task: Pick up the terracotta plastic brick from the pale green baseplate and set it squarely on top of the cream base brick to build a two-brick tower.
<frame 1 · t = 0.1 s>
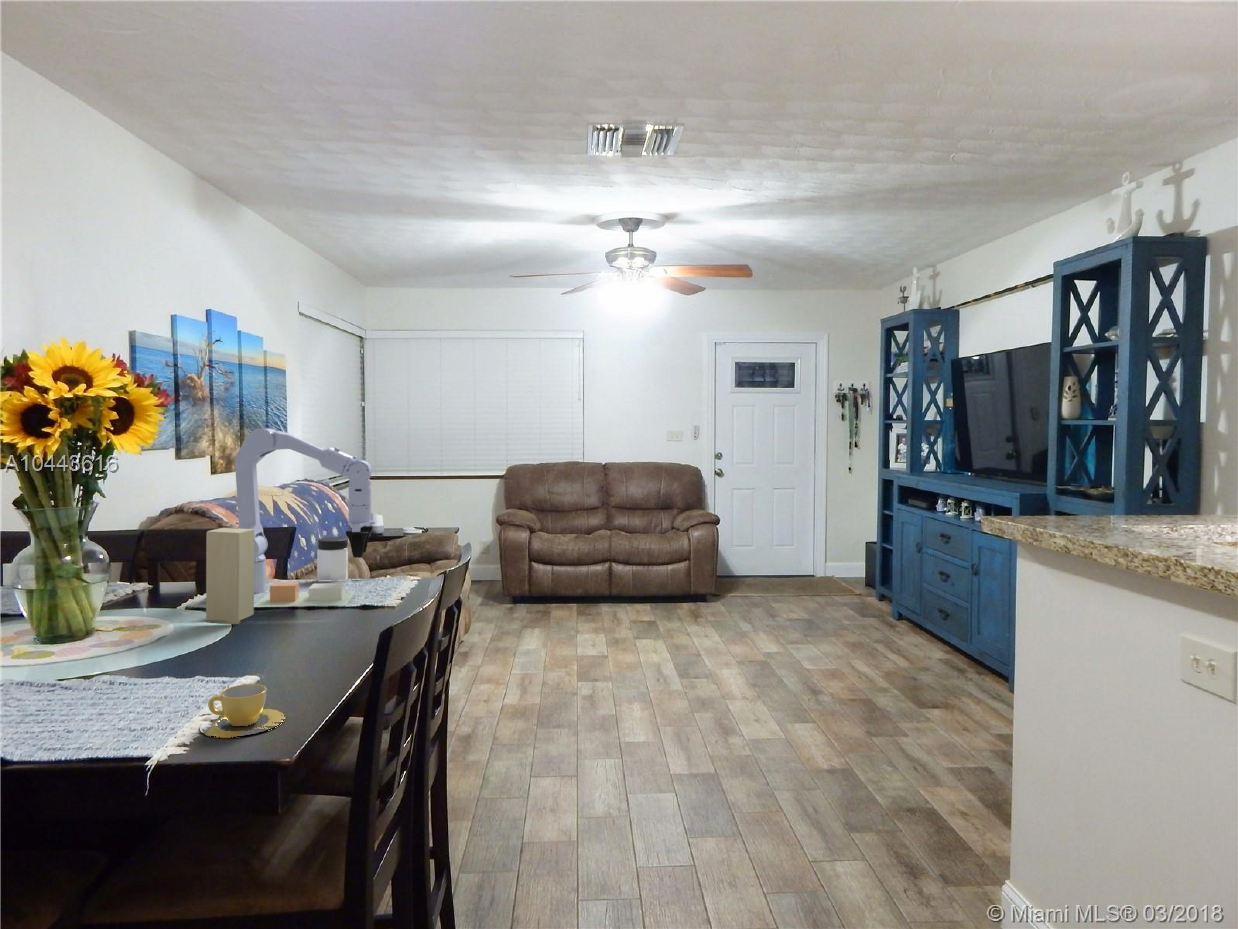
hand: (359, 555, 216), 10 cm above the table, fingers open, 7 cm apart
beige tall rectangular block: (231, 620, 185), on the table
base brick: (327, 597, 206), point 1 cm above the table, touching baseplate
jar: (332, 581, 231), on the table
top brick: (284, 600, 202), point 1 cm above the table, touching baseplate
cup: (243, 726, 124), on the table
baseplate: (306, 601, 204), on the table
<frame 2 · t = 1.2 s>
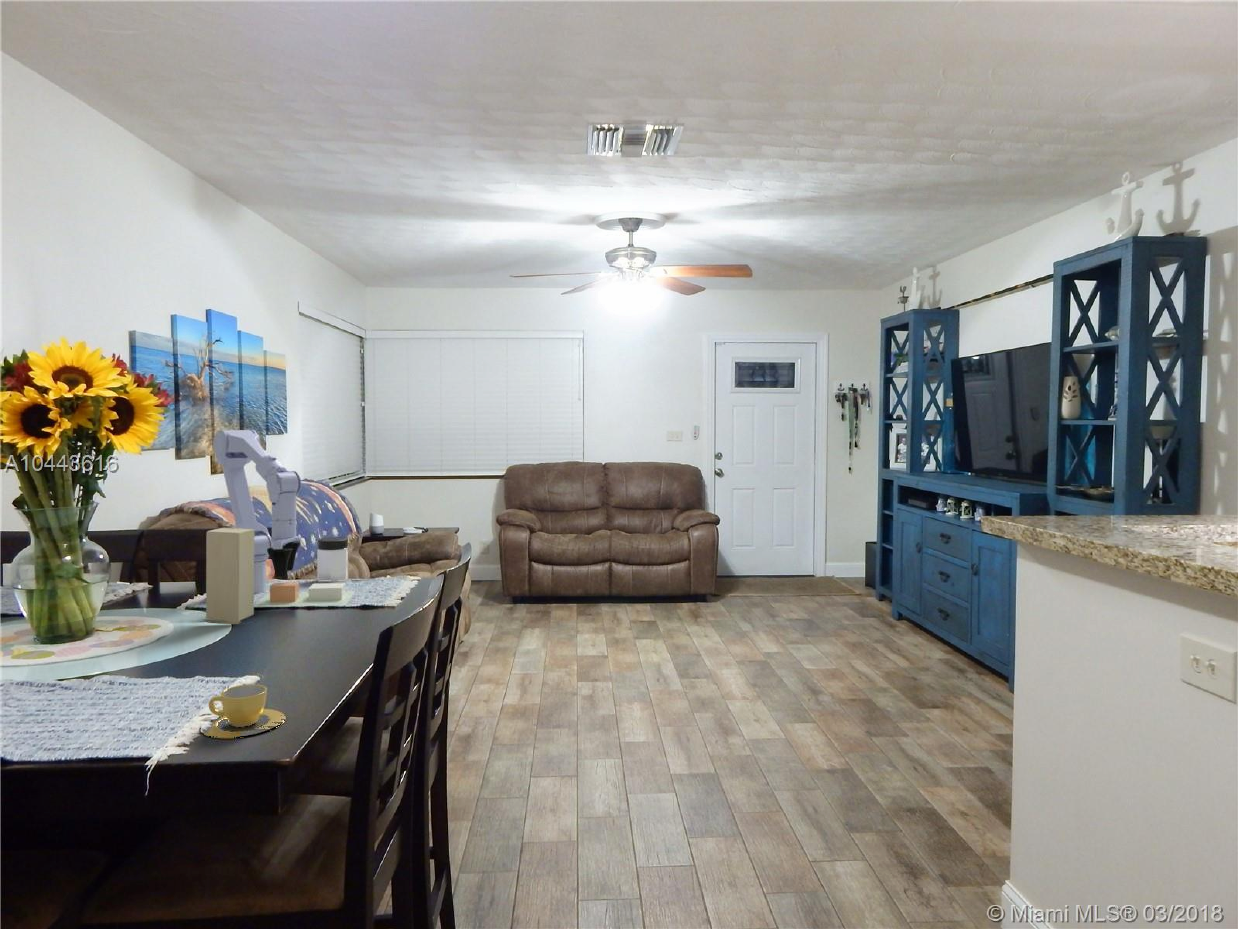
hand: (284, 573, 202), 8 cm above the table, fingers open, 7 cm apart
nothing on the table moved.
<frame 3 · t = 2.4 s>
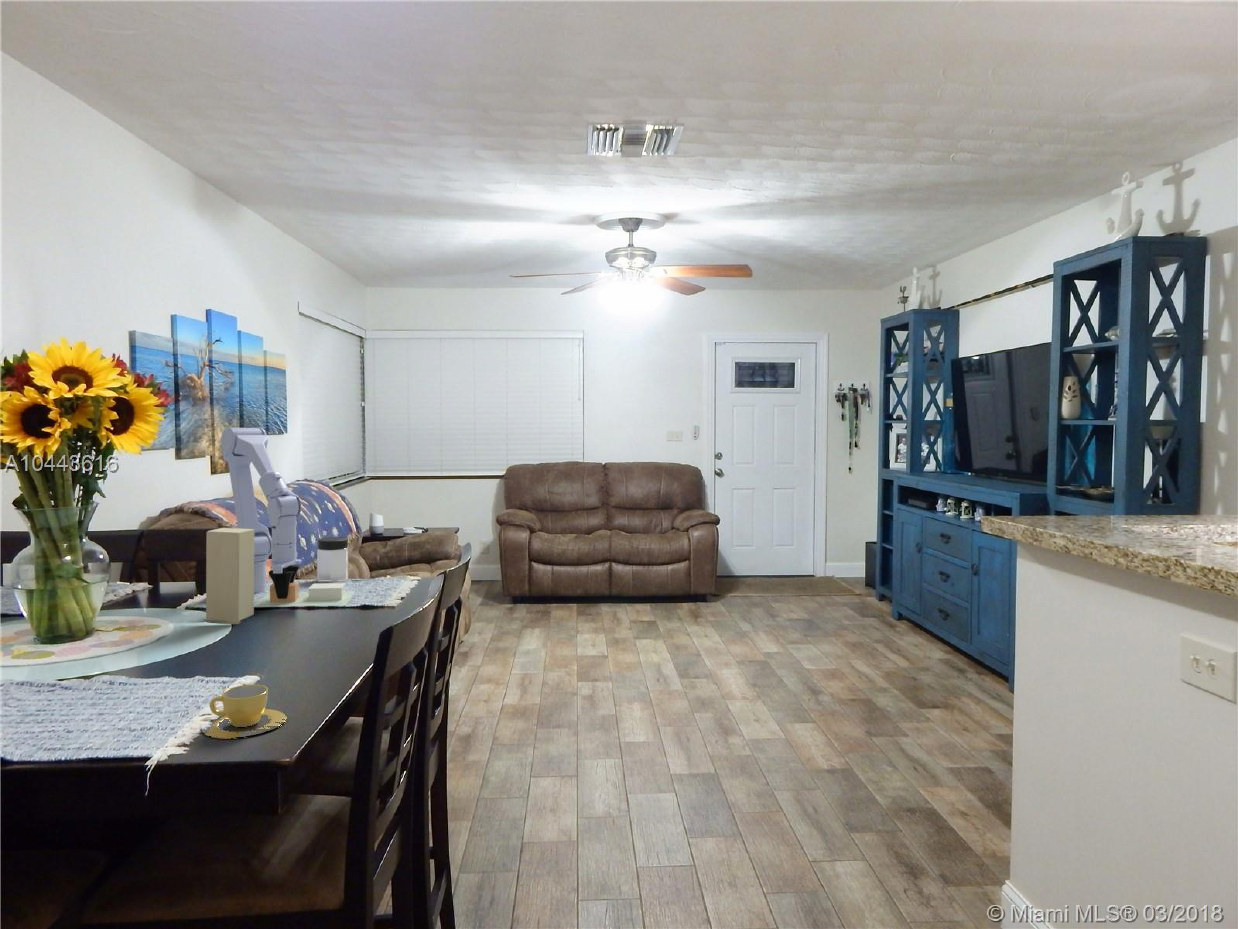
hand: (284, 596, 202), 2 cm above the table, fingers closed on top brick, 4 cm apart
top brick: (284, 600, 202), point 1 cm above the table, touching baseplate, gripper
everything else where it was.
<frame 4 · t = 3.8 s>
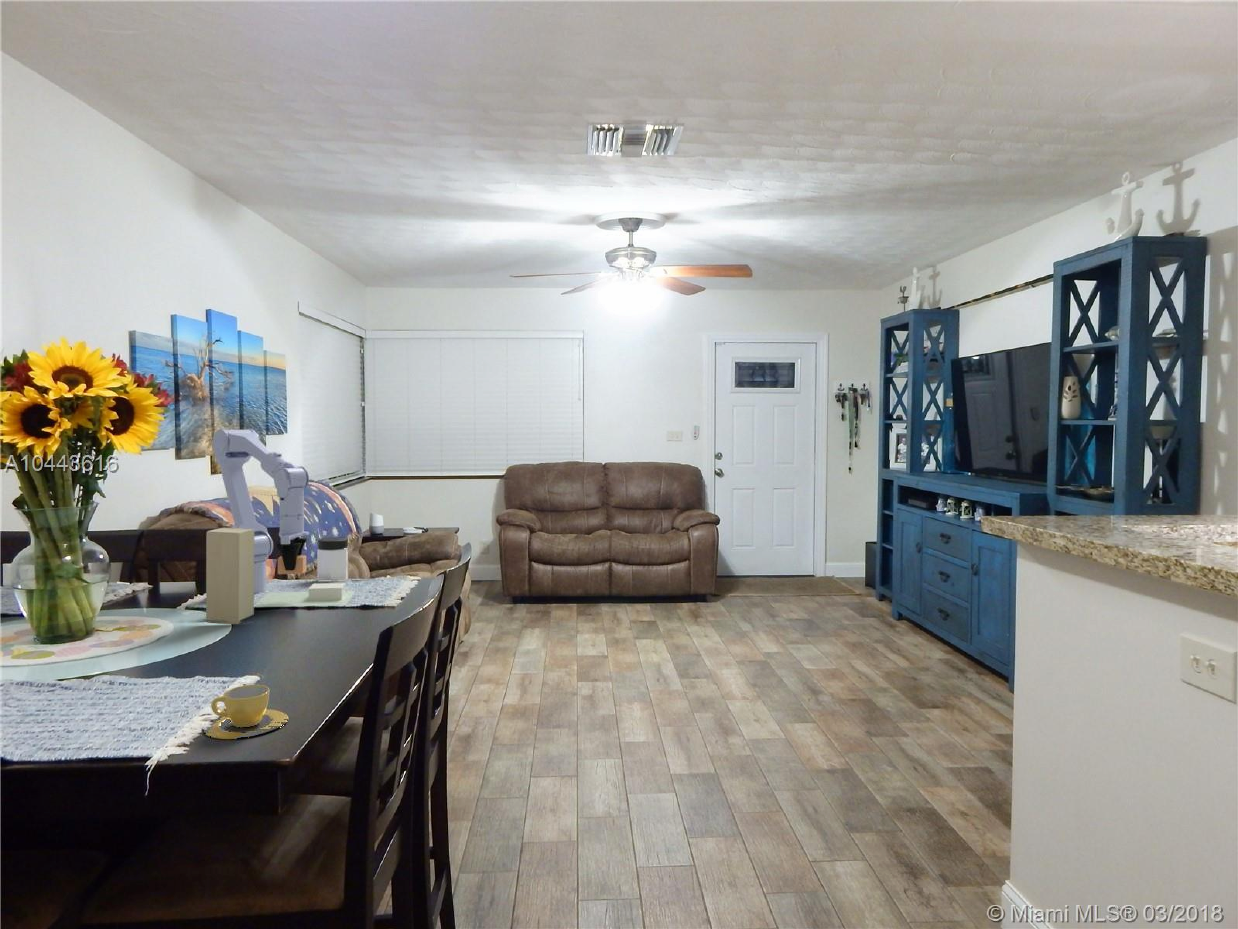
hand: (292, 568, 202), 9 cm above the table, fingers closed on top brick, 4 cm apart
top brick: (292, 572, 202), point 8 cm above the table, touching gripper
when the fingers open (6 cm above the table, at t = 5.6 s): top brick drops 1 cm, resting on base brick.
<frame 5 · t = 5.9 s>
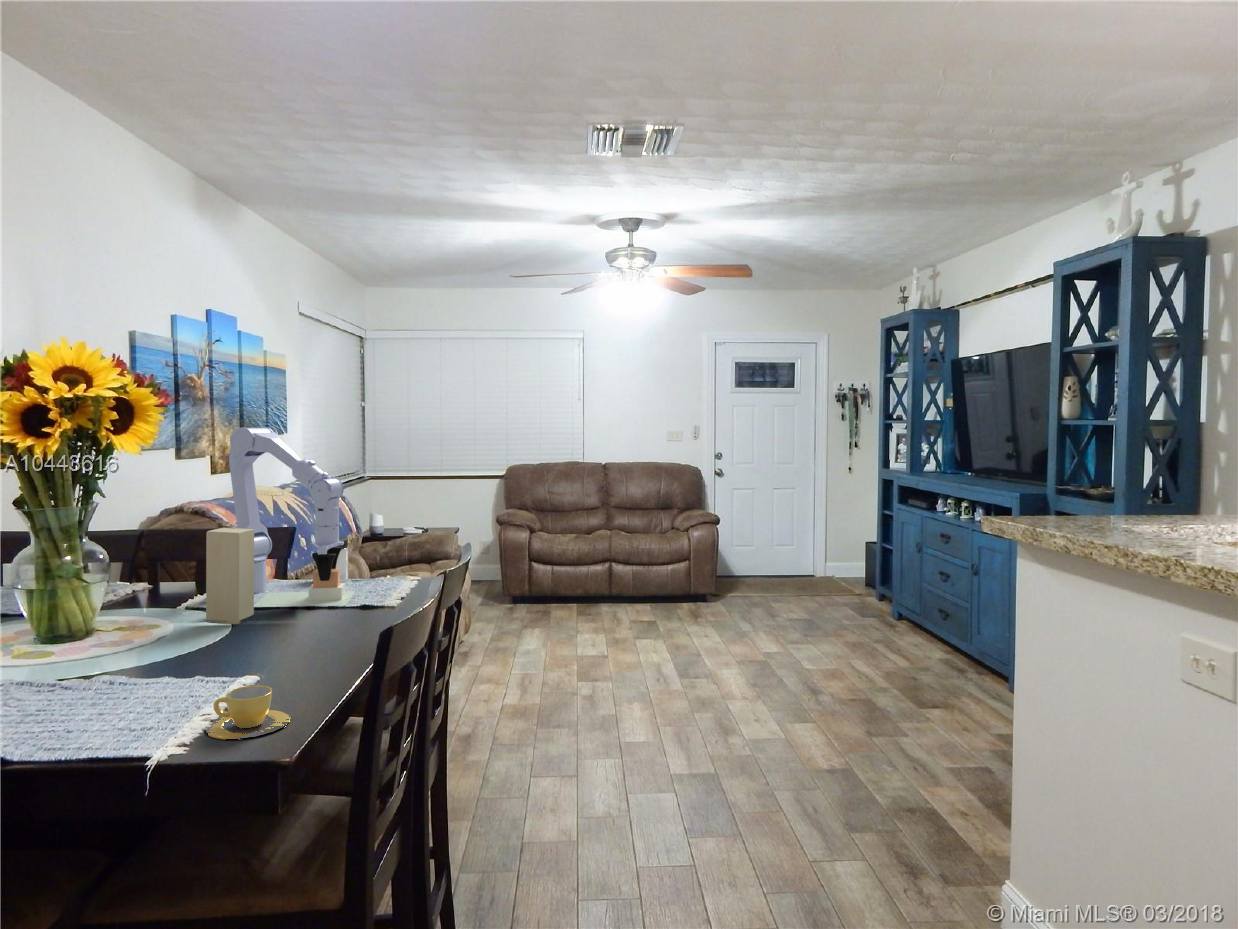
hand: (327, 577, 206), 6 cm above the table, fingers open, 7 cm apart
base brick: (327, 597, 206), point 1 cm above the table, touching baseplate, top brick
top brick: (326, 585, 206), point 4 cm above the table, touching base brick
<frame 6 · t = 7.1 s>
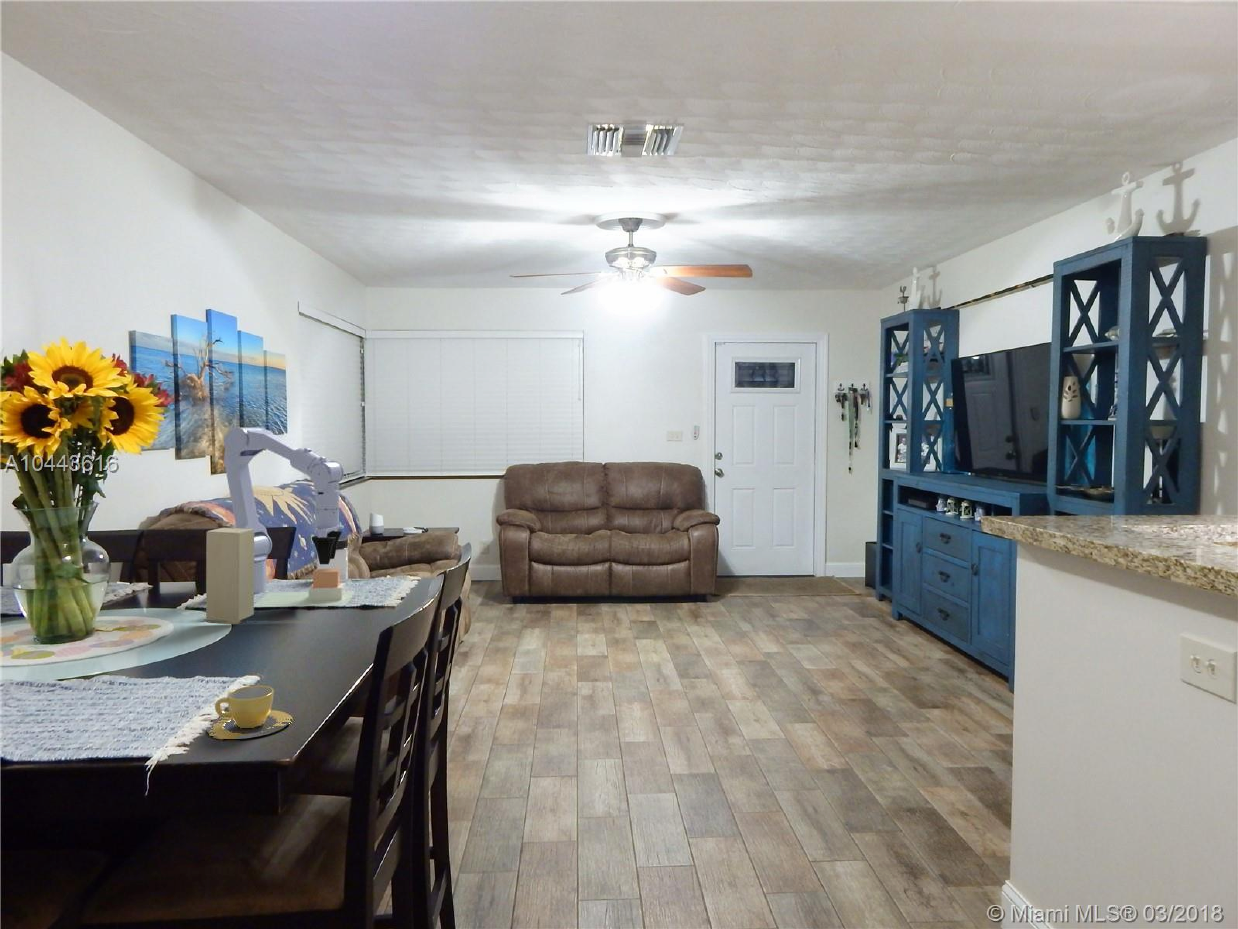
hand: (327, 561, 205), 10 cm above the table, fingers open, 7 cm apart
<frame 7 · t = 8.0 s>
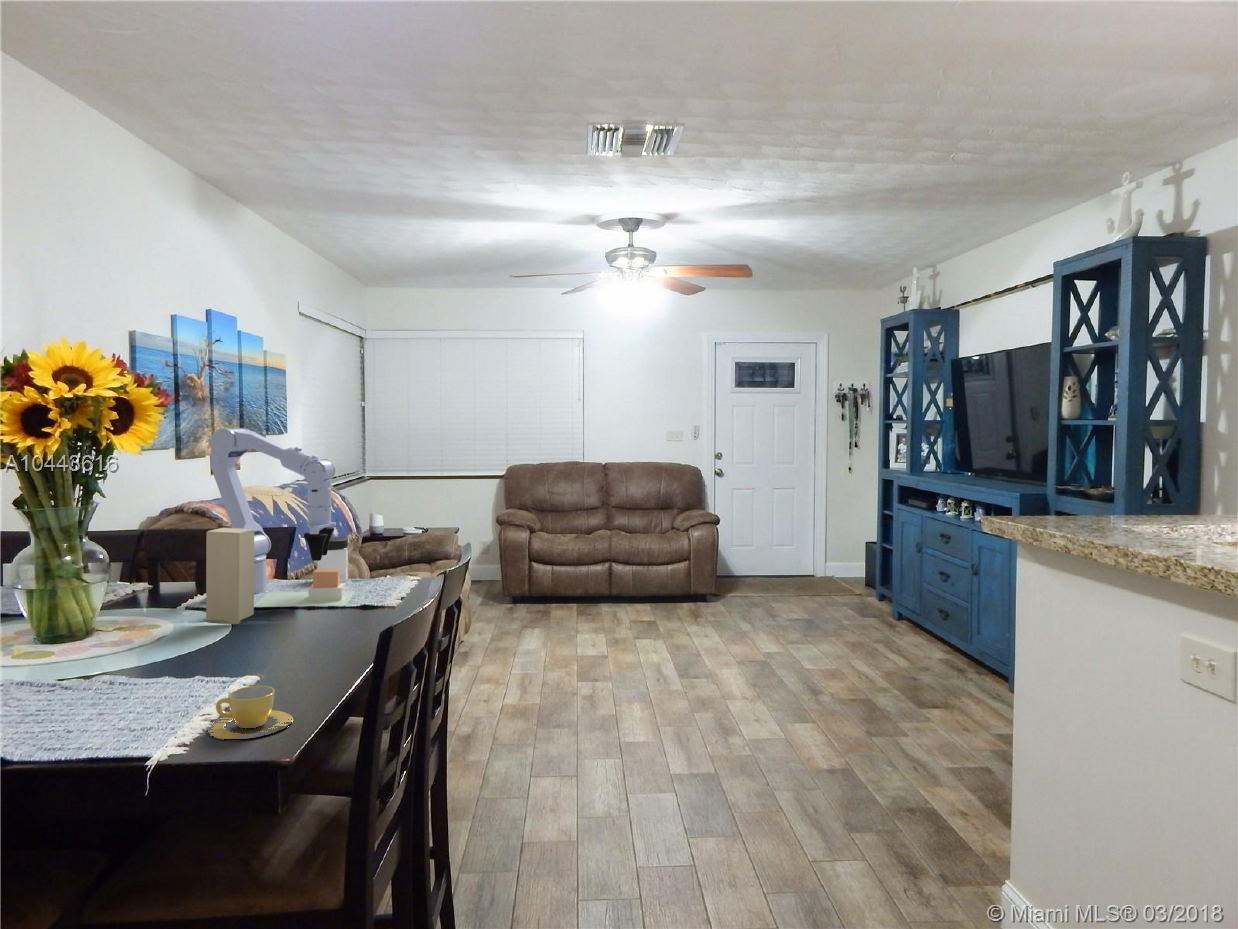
hand: (319, 557, 209), 10 cm above the table, fingers open, 7 cm apart
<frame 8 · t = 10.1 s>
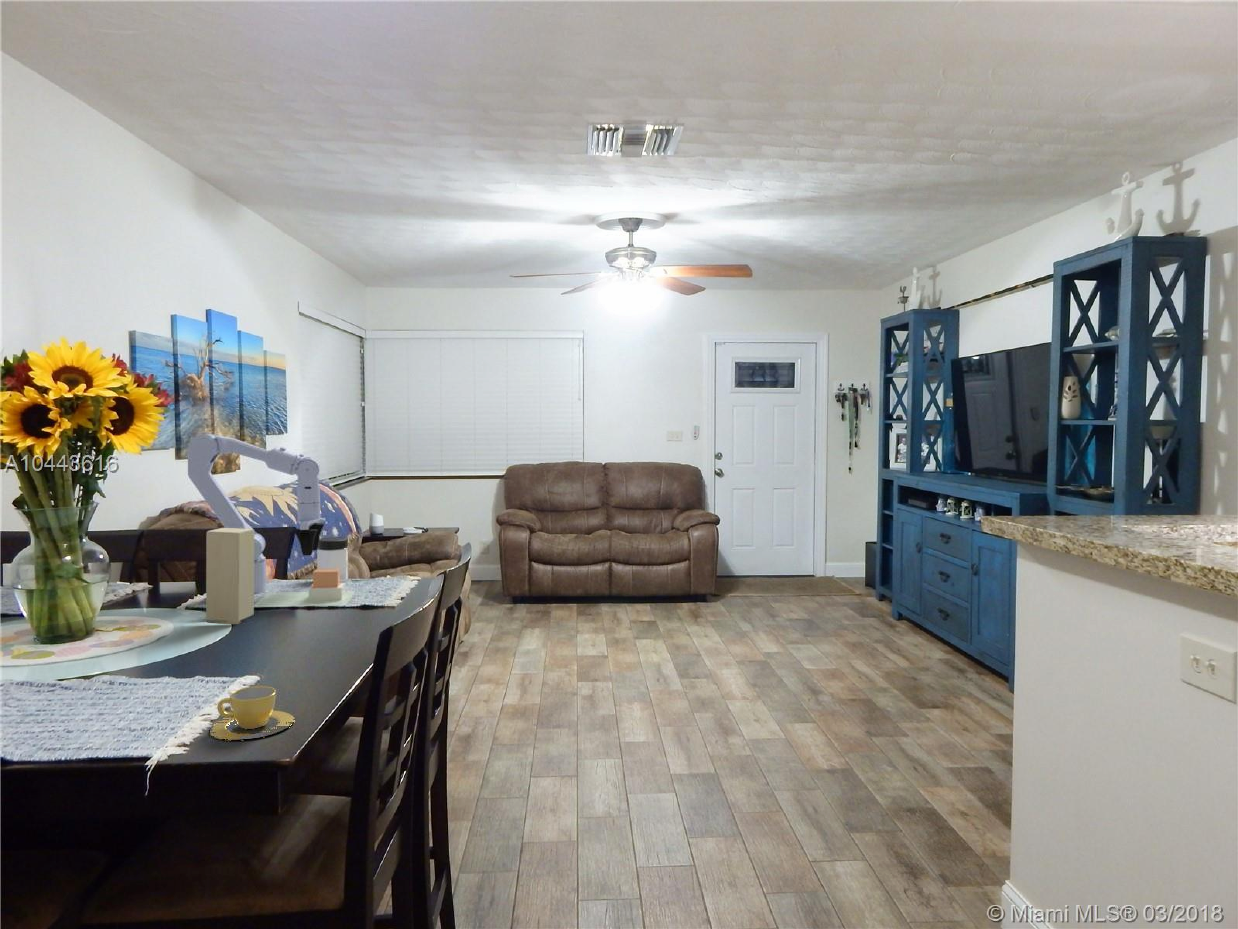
hand: (310, 552, 216), 10 cm above the table, fingers open, 7 cm apart
at the end: top brick 0.1 cm off-centre on the base brick, point 3.0 cm above the base brick's base; top brick tilted 0°; the gripper is holding nothing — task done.
